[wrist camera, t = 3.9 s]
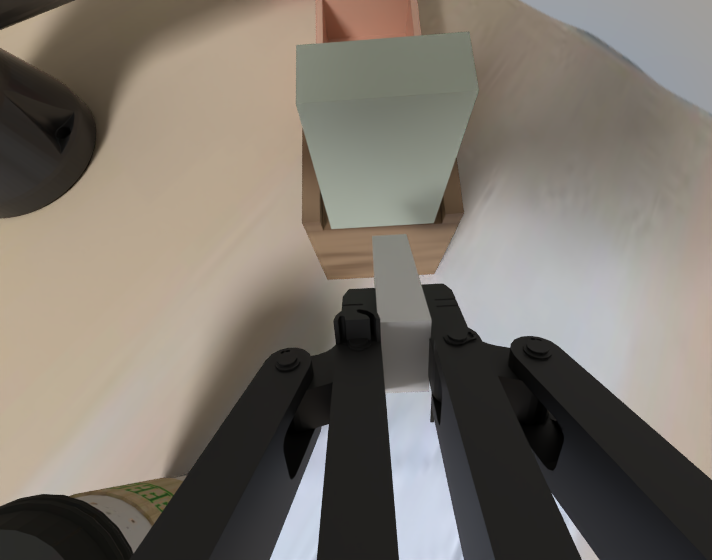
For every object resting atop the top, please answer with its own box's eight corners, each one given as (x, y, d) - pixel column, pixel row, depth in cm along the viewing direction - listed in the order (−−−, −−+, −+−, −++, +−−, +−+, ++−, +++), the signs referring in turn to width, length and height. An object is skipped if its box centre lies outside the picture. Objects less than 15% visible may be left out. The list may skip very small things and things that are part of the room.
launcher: (433, 274, 31) (464, 213, 20) (327, 279, 32) (302, 222, 21) (417, 112, 36) (434, -6, 25) (324, 119, 36) (302, 5, 25)
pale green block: (433, 223, 22) (479, 90, 12) (331, 229, 22) (295, 103, 12) (429, 185, 22) (469, 31, 13) (330, 191, 23) (296, 45, 13)
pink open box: (419, 114, 36) (425, 71, 31) (324, 120, 36) (316, 79, 31) (410, 33, 39) (415, -17, 34) (323, 40, 39) (315, -9, 34)
